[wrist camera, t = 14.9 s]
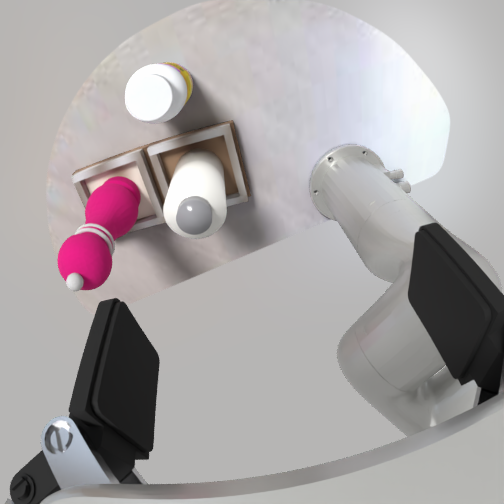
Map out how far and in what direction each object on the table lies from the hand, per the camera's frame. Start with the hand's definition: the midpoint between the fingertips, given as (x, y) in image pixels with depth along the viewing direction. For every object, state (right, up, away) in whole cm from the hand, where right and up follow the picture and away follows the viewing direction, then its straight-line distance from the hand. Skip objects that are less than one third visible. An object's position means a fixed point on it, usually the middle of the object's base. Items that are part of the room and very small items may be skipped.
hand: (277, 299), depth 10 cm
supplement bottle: (-12, +23, +27) cm, 38 cm away
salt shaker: (-8, +12, +33) cm, 36 cm away
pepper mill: (-20, +10, +33) cm, 40 cm away
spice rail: (-14, +12, +34) cm, 39 cm away
